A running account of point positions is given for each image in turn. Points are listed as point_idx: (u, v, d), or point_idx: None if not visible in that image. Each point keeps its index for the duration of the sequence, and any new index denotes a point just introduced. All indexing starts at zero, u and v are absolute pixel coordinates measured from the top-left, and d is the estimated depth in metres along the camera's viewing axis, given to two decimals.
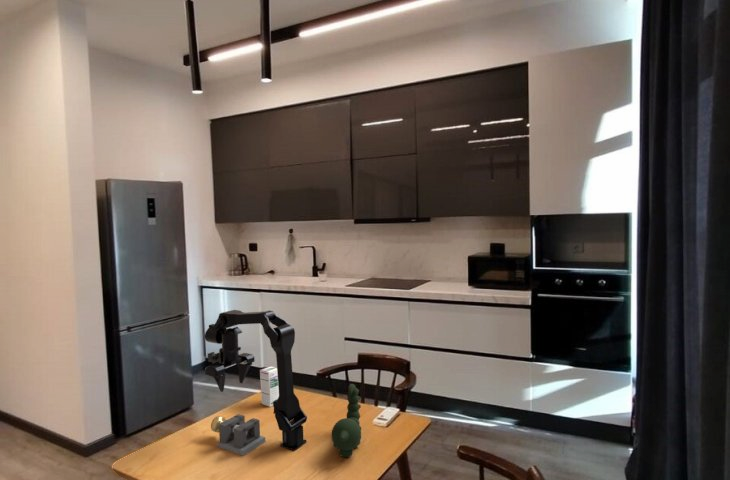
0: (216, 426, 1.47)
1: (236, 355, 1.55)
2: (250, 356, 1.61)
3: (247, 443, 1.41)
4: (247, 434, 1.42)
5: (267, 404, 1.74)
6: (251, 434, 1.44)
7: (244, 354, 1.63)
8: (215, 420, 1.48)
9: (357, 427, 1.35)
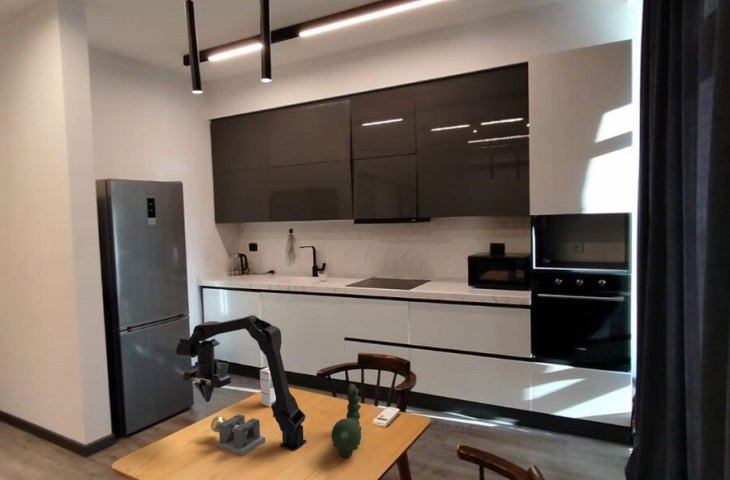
0: (216, 426, 1.47)
1: (200, 370, 1.49)
2: (215, 380, 1.45)
3: (247, 443, 1.41)
4: (247, 434, 1.42)
5: (267, 404, 1.74)
6: (251, 434, 1.44)
7: (222, 376, 1.48)
8: (215, 420, 1.48)
9: (357, 427, 1.35)
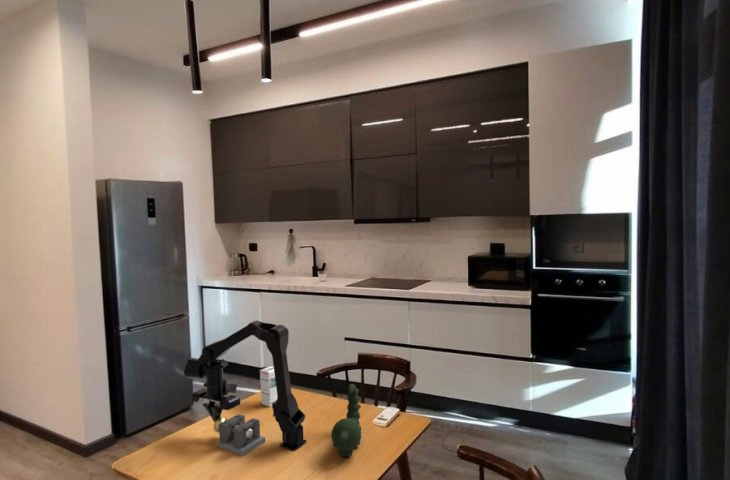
0: None
1: (209, 391, 1.47)
2: (224, 402, 1.44)
3: (247, 443, 1.41)
4: (250, 435, 1.42)
5: (267, 404, 1.74)
6: None
7: (231, 397, 1.46)
8: (218, 421, 1.47)
9: (357, 427, 1.35)
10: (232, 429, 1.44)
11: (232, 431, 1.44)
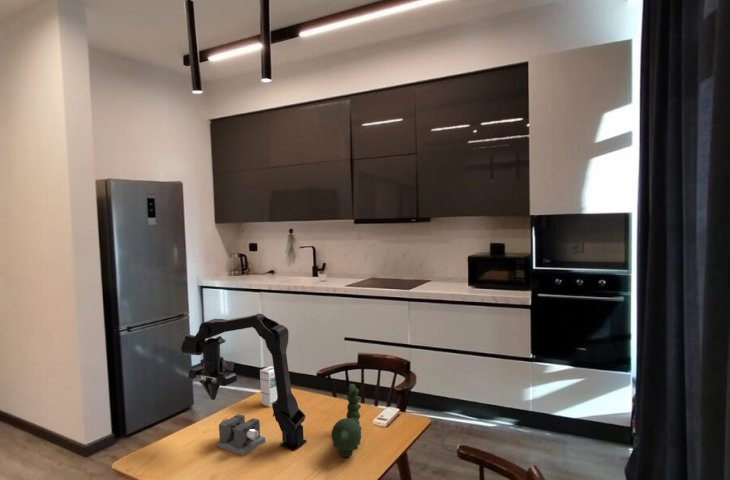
0: None
1: (206, 368, 1.47)
2: (221, 378, 1.44)
3: (247, 443, 1.41)
4: (256, 437, 1.40)
5: (267, 404, 1.74)
6: None
7: (227, 374, 1.47)
8: None
9: (357, 427, 1.35)
10: None
11: None
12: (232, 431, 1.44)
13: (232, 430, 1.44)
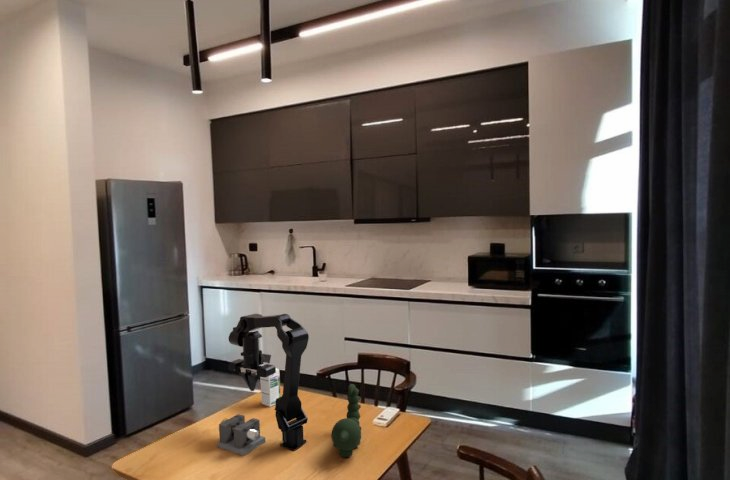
0: None
1: (246, 360, 1.54)
2: (261, 369, 1.51)
3: (247, 443, 1.41)
4: (256, 437, 1.40)
5: (267, 404, 1.74)
6: None
7: (267, 366, 1.53)
8: None
9: (357, 427, 1.35)
10: None
11: None
12: (232, 431, 1.44)
13: (232, 430, 1.44)
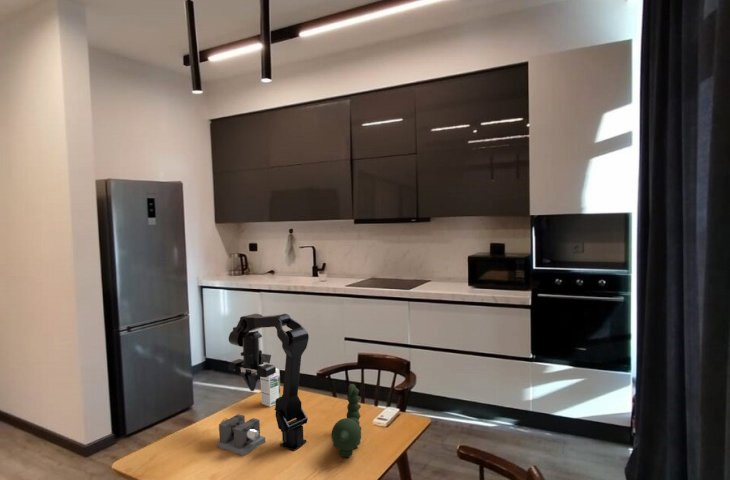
0: None
1: (246, 360, 1.54)
2: (261, 369, 1.51)
3: (247, 443, 1.41)
4: (256, 437, 1.40)
5: (267, 404, 1.74)
6: None
7: (267, 366, 1.53)
8: None
9: (357, 427, 1.35)
10: None
11: None
12: (232, 431, 1.44)
13: (232, 430, 1.44)
